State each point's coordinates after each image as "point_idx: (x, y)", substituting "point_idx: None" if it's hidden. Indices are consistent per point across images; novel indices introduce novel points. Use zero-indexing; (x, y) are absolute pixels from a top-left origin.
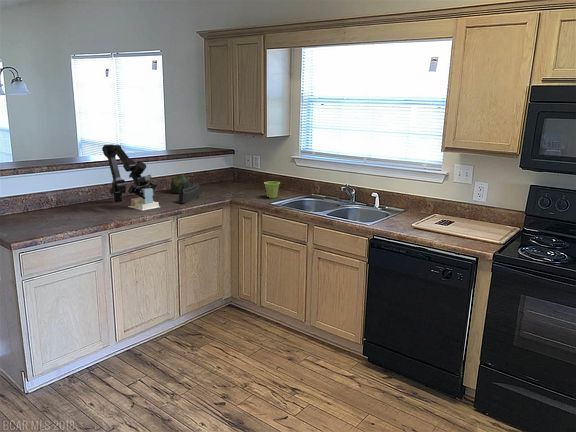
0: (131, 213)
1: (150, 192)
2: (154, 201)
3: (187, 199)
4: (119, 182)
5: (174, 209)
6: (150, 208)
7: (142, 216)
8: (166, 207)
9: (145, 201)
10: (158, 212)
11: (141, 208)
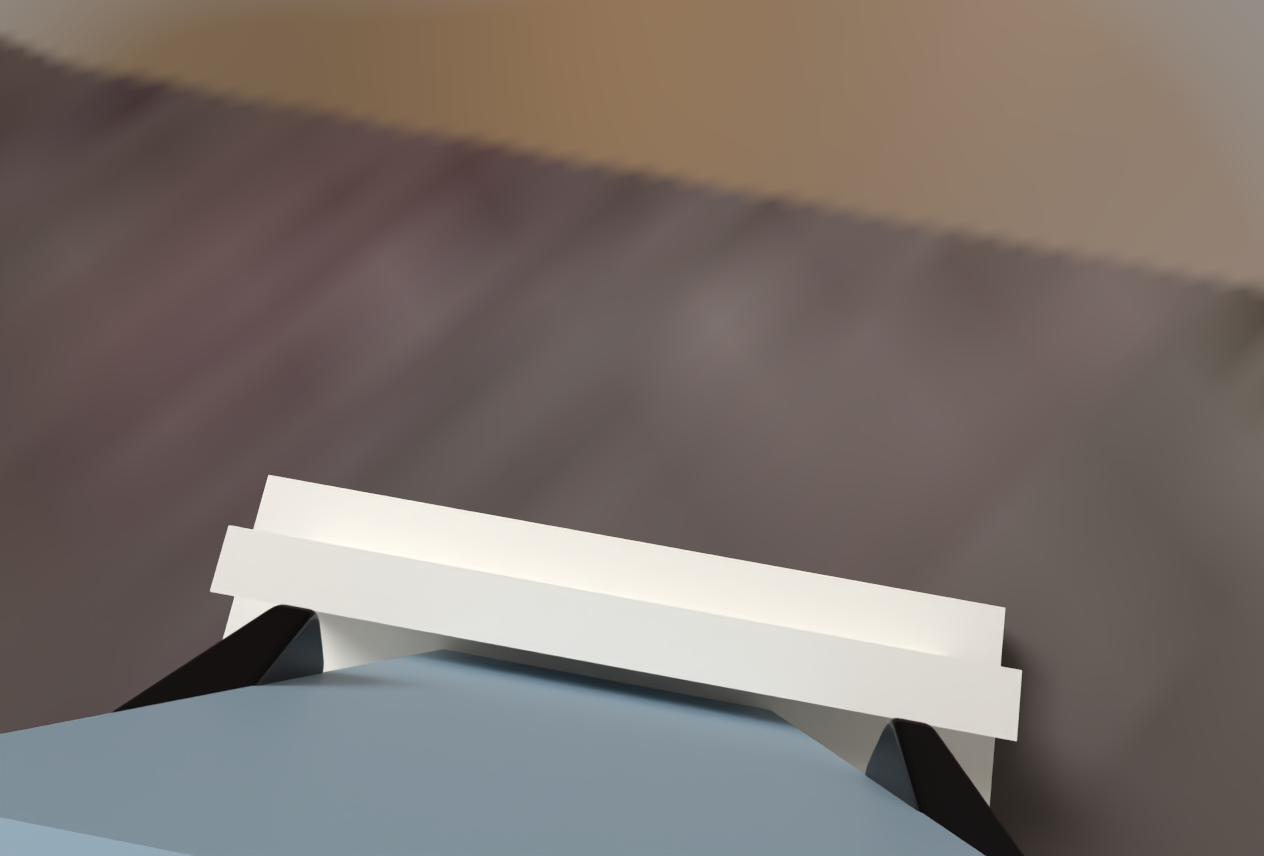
0: (1248, 834)
1: (370, 752)
2: None
3: None
4: None
5: (160, 149)
6: (651, 583)
7: (1255, 300)
8: (38, 498)
9: (804, 748)
10: (673, 263)
11: None
